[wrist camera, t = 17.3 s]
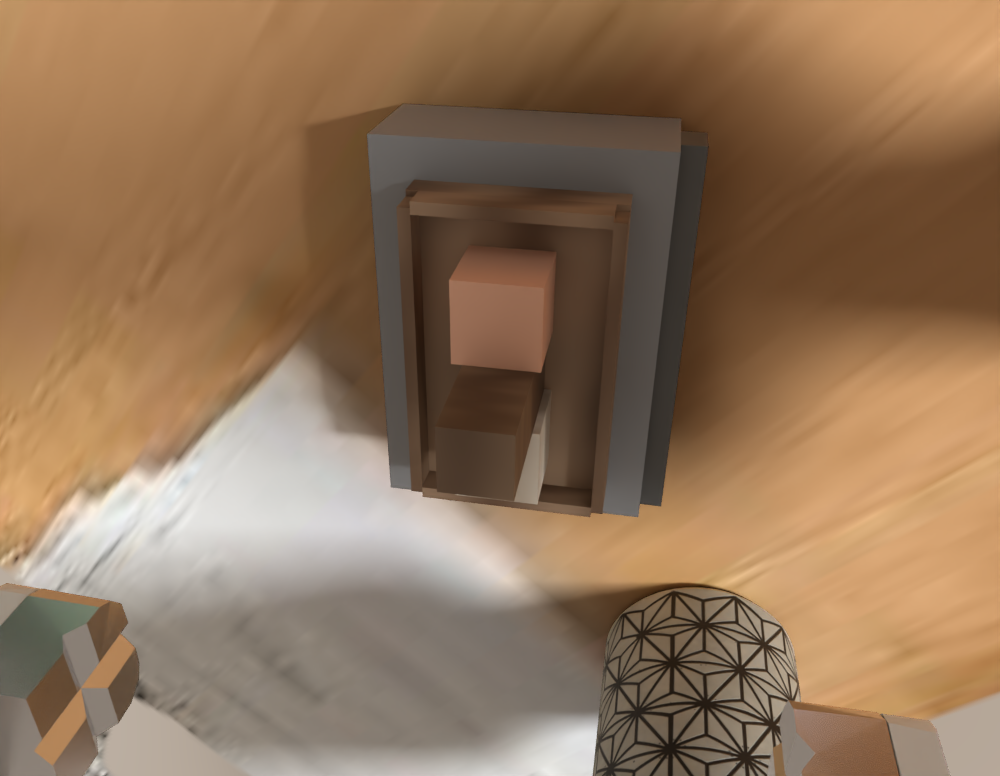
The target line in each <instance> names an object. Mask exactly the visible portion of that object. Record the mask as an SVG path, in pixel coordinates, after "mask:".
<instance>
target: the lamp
mask: <svg viewBox="0 0 1000 776" xmlns="http://www.w3.org/2000/svg"><path fill="white" fill-rule="evenodd" d="M788 700H790V701H797V702H801V696H800V689H799V682H798V675H797V668H796V660H795V653H794V649H793V645H792V642H791V640H790V638H789V636H788V634H787V632H786V631H785V629H784V628H783V627H782V626H781V624H780V623H779V622H778V621H777V620H776V619H775V618H774V617H773V616H772V615H771V614H769V613H768V612H767V611H765V610H764V609H763V608H761V607H759V606H758V605H756V604H754V603H753V602H751V601H749V600H747V599H745V598H743V597H741V596H738V595H736V594H733V593H730V592H726V591H722V590H718V589H712V588H702V587H684V588H675V589H669V590H665V591H661V592H658V593H655V594H652V595H650V596H648V597H645V598H644V599H642V600H640V601H638V602H636V603H635V604H633V605H632V606H630V607H629V608H628V609H626V610H625V611H624V612H623V613H622V614H621V615H620V616H619V617H618V618H617V620H616V621H615V622H614V624H613V626H612V627H611V629H610V632H609V634H608V637H607V642H606V650H605V660H604V670H603V680H602V689H601V699H600V709H599V719H598V729H597V739H596V749H595V759H594V768H593V776H767V775H768V767H769V762H770V758H771V753H772V749H773V748H774V747H775V746H777V745H778V744H780V743H782V741H781V731H780V719H781V715H782V712H783V708H784V706H785V704H786V703H787V701H788Z"/></svg>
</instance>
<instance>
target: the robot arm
mask: <svg viewBox="0 0 1000 776" xmlns="http://www.w3.org/2000/svg"><path fill="white" fill-rule="evenodd" d="M127 624H128V621H127V618H126V615H125V612H124V610H123V607H122V604H120V603H117V602H113V601H108V600H103V599H97V598H92V597H86V596H80V595H75V594H69V593H63V592H58V591H52V590H47V589H39V588H33V587H27V586H21V585H15V584H9V583H6V584H4V585H2V586H0V776H84V774H85V773H86V771H87V770H88V768H89V767H90V765H91V764H92V762H93V761H94V759H95V758H96V756H97V755H98V744H97V736H98V735H100V734H101V733H103V732H105V731H106V730H108V729H109V728H111V727H113V726H114V725H116V724H118V723H119V721H120V720H121V718H122V717H123V715H124V713H125V712H126V710H127V709H128V707H129V706H130V704H131V702H132V699H133V696H134V693H135V690H136V687H137V683H138V680H139V660H138V656H137V652H136V649H135V647H134V646H133V645H132V644H131V643H130V642H129V641H128V640H127V639H126V638H125V637H124V636H123V635H122V634H121V632H122V631H123V629H124V628H125V627H126V625H127ZM780 731H781V741H782V743H780V744H778V745H777V746H775V747H774V748H773V749H772V753H771V758H770V762H769V767H768V775H767V776H950V772H949V769H948V766H947V763H946V759H945V756H944V753H943V749H942V746H941V743H940V740H939V736H938V733H937V730H936V728H935V727H934V726H933V724H932V723H931V722H930V721H928V720H921V719H914V718H908V717H901V716H894V715H887V714H880V715H879V714H878V713H877V712H870V711H863V710H856V709H848V708H841V707H834V706H826V705H819V704H812V703H804V702H797V701H790V700H788V701H787V703H786V704H785V706H784V708H783V712H782V715H781V719H780Z"/></svg>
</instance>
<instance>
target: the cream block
mask: <svg viewBox="0 0 1000 776" xmlns="http://www.w3.org/2000/svg"><path fill="white" fill-rule="evenodd" d="M550 411H551V390H548V389H544V392H543V396H542V400H541V403H540V407H539V411H538V414H537V418H536V422H535V425H534V429H533V433H532V437H531V440H530V444H529V448H528V451H527V455H526V459H525V463H524V466H523V470H522V474H521V477H520V481H519V485H518V488H517V492H516V496H515V500H514V501H512V502H521V503H529V504H538V500H539V496H540V491H541V487H542V483H543V478H544V474H545V470H546V465H547V461H548V457H549V434H550ZM455 495H458V494H455ZM462 496H466V495H462ZM470 497H474V496H470ZM479 498H482V497H479ZM487 499H491V498H487ZM496 500H499V499H496ZM504 501H507V500H504Z"/></svg>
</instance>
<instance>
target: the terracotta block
mask: <svg viewBox="0 0 1000 776" xmlns="http://www.w3.org/2000/svg"><path fill="white" fill-rule="evenodd" d="M555 271H556V252H552V251H539V250H526V249H513V248H500V247H487V246H474V245H469V246H468V248H467V250H466V251H465V253H464V255H463V257H462V258H461V260H460V262H459V264H458V265H457V267H456V269H455V271H454V272H453V274H452V276H451V278H450V279H449V299H450V345H451V364H457V365H467V366H477V367H487V368H497V369H508V370H518V371H528V372H538V373H541V371H542V367H543V364H544V360H545V357H546V353H547V350H548V346H549V343H550V339H551V336H552V332H553V315H554V293H555Z"/></svg>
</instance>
